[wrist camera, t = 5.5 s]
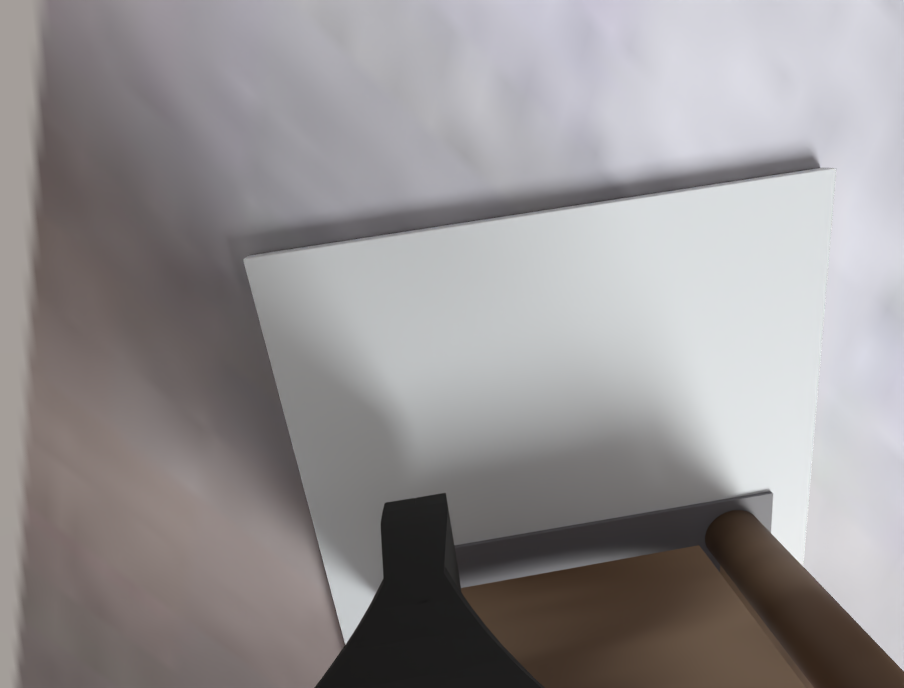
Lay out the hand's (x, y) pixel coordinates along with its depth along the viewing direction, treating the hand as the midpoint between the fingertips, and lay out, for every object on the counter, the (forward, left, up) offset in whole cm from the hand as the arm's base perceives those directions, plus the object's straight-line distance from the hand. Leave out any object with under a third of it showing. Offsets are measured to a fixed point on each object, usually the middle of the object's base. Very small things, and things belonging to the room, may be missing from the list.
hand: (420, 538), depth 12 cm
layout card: (-3, -3, -2) cm, 5 cm away
